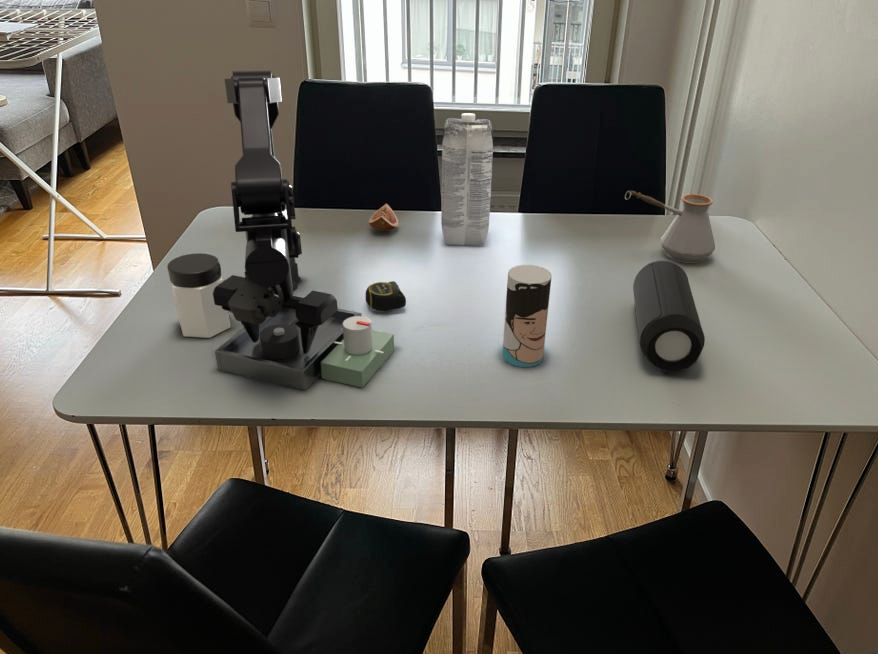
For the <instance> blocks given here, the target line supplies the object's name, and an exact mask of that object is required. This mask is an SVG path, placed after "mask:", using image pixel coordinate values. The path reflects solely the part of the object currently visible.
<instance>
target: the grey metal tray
mask: <svg viewBox="0 0 878 654" xmlns="http://www.w3.org/2000/svg"><path fill="white" fill-rule="evenodd" d="M283 308H287V307H281V308H280V310H279V311H278V313H279V312H280V311H281V310H282V309H283ZM289 309H292V308H289ZM294 310H296V309H294ZM354 316H362V317H363V315H362V312H357V311H354V310H348V309H343V308H338V310H337V311H336V312H335V313H334V314H333V315H332V316H331V317H333V318H338V319H343V320H346V319H347V318H350V317H354ZM271 318H272V317H266V320H265V321H264V322H263V323H262V324H259V328H260V327H262V326H263V325H264V324H265V323H266V322H268V321H269V320H270V319H271ZM248 337H249V335H248V333H247V331H246V330H245V328H244V327H243V328H242V329H240V330H239V331H238V332H237V333H235V334H234V335H233V336H232V337H230V338H229V339H228V340H226V341H225V342H224V343H223V344H221V345H220V346H219V347H218V348H216V349H215V350H214V356H215V357H214V358H215V362H216V368H217V371H222V372H225V373H230V374H234V375H238V376H242V377H245V378H250V379H255V380H260V381H265V382H268V383H273V384H276V385H281V386H285V387H289V388H294V389H298V390H301V391H307V390H308V389H309V387H311V385H313V383H314V382H315V381H316V380H317V379H318V378H319V377H321V376H322V372H321V362H322V361H323V360H324V358H325V357H326V356H327V355H328V354H329V353H330V352H331V351H332V350H333V349H334V348H335V347H336V346H337V345H338V344H335V343H334V342H341V341H342V340H343V339H344V335H343V327H342V328H341V329H340V330H339V331H338V332H337V333H336V334H335V335H334V336H333V337H332V338H331V339H330V340H329V341H328V342H327V343H326V344H325V345H324V346H323V347H322V348H321V349H320V350H319V351H318V352H317V353H316V354H315V355H314V356H313V357H312V358H311V359H310V360H309V361H308V362H307V363H306V364H305V365H304V366H303V367H302V368H300V367H295V366H291V365H286V364H282V363H277V362H273V361H269V360H264V359H260V358H255V357H251V356H247V355H242V354H238V353H233V352H231V351H232V350H234V349H235V348H236V347H237V346H238V345H240V344H241V343H242V342H243V341H245V340H246V339H247V338H248Z"/></svg>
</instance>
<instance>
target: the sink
mask: <svg viewBox="0 0 878 654" xmlns="http://www.w3.org/2000/svg"><path fill="white" fill-rule="evenodd" d="M298 321H299V320H298V319H297V318H296V313H295V310H294V309H289V308H283V309H282V310H281V311H280V312H279V313H277V315H276V316H275V317H272V318H271V319H270V320H269V321H268V322H266V323H265V324H264V325H263V326H262V327H260V328H259V340H258V341H257V342H256V343H254V342H253V341H252V340H251V338H250V336H249V337H248V338H247V339H246V340H245V341H243V342H242V343H241V344H240V345H238V346H237V347H236V348H235V349H234V350H232V351H231V352H233V353H238V354H242V355H247V356H251V357H255V358H260V359H264V360H269V361H273V362H277V363H282V364H286V365H291V366H295V367H300V368H302V367H303V366H304V365H305V364H306V363H307V362H308V361H309V360H310V359H311V358H312V357H313V356H314V355H315V354H316V353H317V352H318V351H319V350H320V349H321V348H322V347H323V346H324V345H325V344H326V343H327V342H328V341H329V340H330V339H331V338H332V337H333V336H334V335H335V334H336V333H337V332H338V331H339V330H340V329H341V328H342V327H343V322H344V320H343V319H338V318H333V317H329V318H328V319H327V320H326V321H325V322H324V323H323V324H322V325H319V326H318V328H317V331H316V334H315V336H314V339H313V342H312V345H311V347H310V350H309V352H308V353H307V354H304V352H303V348H302V340H301V329H300V327H298V326H297V325H296V324H295V323H296V322H298ZM277 324H288V325H292V326H294V327H296V328H297V329H298V332H299V340H300V351H299V352H298V353H297V354H296V355H294V356H292V357H290V358H286V359H271V358H267V357H265V356H264V355H263V353H262V349H261V342H260V332H261V331H262V330H263V329H265V328H266V327H269V326H272V325H277Z"/></svg>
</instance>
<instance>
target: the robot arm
mask: <svg viewBox="0 0 878 654" xmlns="http://www.w3.org/2000/svg"><path fill="white" fill-rule="evenodd" d="M224 87H225V93H226V94H225V95H226V102H227V104H232V107H233V114H234V116H235V118H236V119H237V121H238V122H239V123H240V133H241V146H242V155H241V157H239V159H238V161H237V162H236V163H235V164H234V175H235V176H234V177H235V178H234V179H235V181H231V182H230V189H231V199H232V208H233V220H234V229H235V233H243V232H244V233H245V239H246V245H245V256H244V276H239V275H235V274H232V275H230V276H229V277H227V278H226V279H224V280H223V282H222V283H220V284H219V285H217V286H216V287H215V288H214V291H213V299H214V303H215V305H218V306H222V309H223V310H226V311H228V313H231V314H232V315H233V317H234V319H235V320H236V321H237V322H240V323H241V325H242V326H243V328H245V330H246V331H247V333H248V335H249V336H250V338H251V340H252V341H253V342H254V343H256V342H257V341H258V340H259V324H262V323H263V322H264V321H265V320H266V317H275V316H276V315H277V313H278V311H279V310H280V308H281V307H287V308H292V309H296V310H295V313H296V318H297V319H298V320H299V321H298V322H296V323H295V324H296V325H297V326H298V327H300V329H301V340H302V348H303V352H304V354H307V353H308V352H309V350H310V347H311V345H312V342H313V339H314V336H315V334H316V331H317V328H318V326H319V325H322V324H323V323H324V322H325V321H326V320H327V319H328V318H329V317H331V316H332V315H333V314H334V313H335V312H336V311H337V310H338V309H339V308H338V307H339V306H338V300H337V298H336V296H335V295H334V294H332V293H328V292H322V291H317V290H311V291H310V292H309V293H308V294H306V295H305V296H304V297H303V296H297V295H294V292H296V291H297V290H298V289H299V287H298V284H299V283H301V282H302V280H303V278H302V277H301V276H299V268H298V262H297V261H296V259H299V256H300V255H302V253H303V251H302V241H301V234H300V233H299V232H298V230H297V229H296V226H293V223H292V220H296V208H295V200H294V189H293V186H292V185H290V181H288V179H287V178H286V179H283V175H282V174H283V173H282V167H281V163H280V162H279V160H278V159H277V158H276V154H275V146H274V139H273V137H274V136H273V130H272V129H273V128H274V125H275V123H276V121H277V119H278V117H279V115H280V112H279V103H282V102H283V99H282V98H283V97H282V90H281V89H282V88H281V80H280V77H276V76H275V75H274V74H272V70H232V75H231V77H230V78H224ZM240 213H241V214H243V215H244V216H250V217H242V218H241V219H240Z"/></svg>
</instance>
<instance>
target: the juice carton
mask: <svg viewBox="0 0 878 654" xmlns="http://www.w3.org/2000/svg"><path fill="white" fill-rule="evenodd" d="M441 146H442V147H441V206H440V207H441V208H440V209H441V215H440V216H441V217H440V218H441V221H440V222H441V223H440V224H441V231H442V236H443V239H444V240H443V241H444V243H445V245H449V246H474V247H475V246H476V247H477V246H478V247H479V246H480V247H482V246H484V245H485V242H486V240H487V236H488V233H489V229H490V215H491V198H492V197H491V194H492V177H493V157H494V155H493V154H494V134H493V124H492V122H491V120H490V119H487V118H485V119H483V118H482V119H476V114H475V113H470V112H465V113H462V114H461V118H455V117H449V118H447V119H446V120H445V121H444V126H443V132H442V145H441Z"/></svg>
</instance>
